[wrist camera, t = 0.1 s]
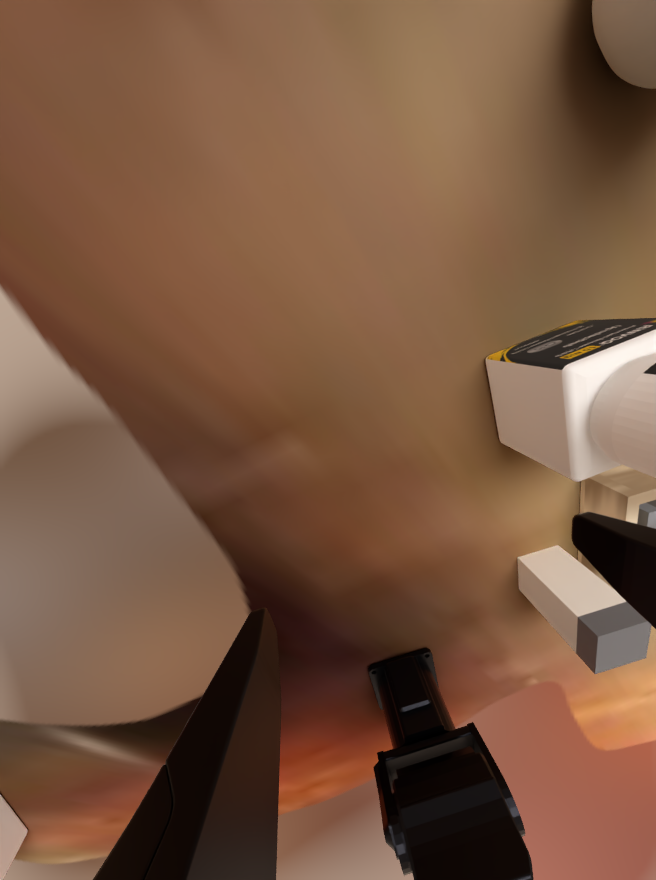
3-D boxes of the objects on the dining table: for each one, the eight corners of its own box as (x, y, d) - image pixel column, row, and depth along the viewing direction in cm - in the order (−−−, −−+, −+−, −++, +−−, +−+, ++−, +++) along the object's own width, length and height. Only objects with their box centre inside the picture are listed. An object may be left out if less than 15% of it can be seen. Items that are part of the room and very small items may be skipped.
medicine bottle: (576, 319, 22) (876, 307, 11) (582, 410, 25) (831, 477, 13) (482, 356, 22) (684, 383, 11) (498, 443, 25) (675, 538, 13)
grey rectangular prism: (557, 577, 30) (645, 657, 23) (518, 589, 30) (594, 674, 23) (558, 545, 29) (652, 619, 22) (517, 557, 29) (598, 636, 21)
